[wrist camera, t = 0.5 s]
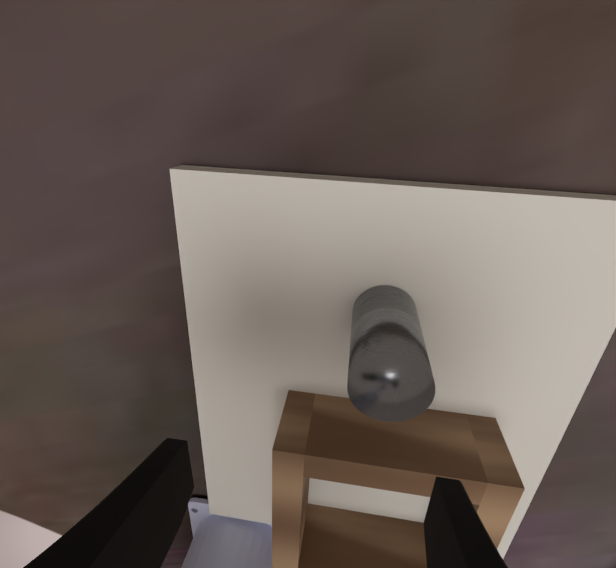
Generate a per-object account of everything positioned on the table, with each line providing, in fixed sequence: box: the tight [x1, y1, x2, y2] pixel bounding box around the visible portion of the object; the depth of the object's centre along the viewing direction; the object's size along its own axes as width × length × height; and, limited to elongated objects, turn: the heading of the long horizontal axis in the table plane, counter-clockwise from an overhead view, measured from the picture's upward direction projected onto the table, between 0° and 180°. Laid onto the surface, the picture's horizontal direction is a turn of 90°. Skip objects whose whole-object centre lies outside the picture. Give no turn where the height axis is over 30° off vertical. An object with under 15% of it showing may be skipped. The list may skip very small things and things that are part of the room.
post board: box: [170, 165, 616, 559], centre depth 18 cm, size 24×20×6 cm
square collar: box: [272, 390, 525, 568], centre depth 20 cm, size 11×11×4 cm
